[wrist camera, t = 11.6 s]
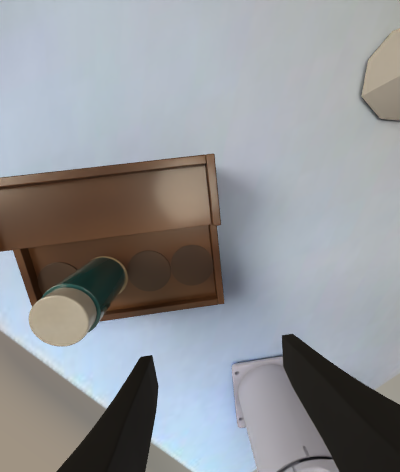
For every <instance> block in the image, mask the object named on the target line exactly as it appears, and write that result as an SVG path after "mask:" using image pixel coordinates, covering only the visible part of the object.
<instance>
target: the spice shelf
mask: <svg viewBox="0 0 400 472" xmlns="http://www.w3.org/2000/svg"><path fill="white" fill-rule="evenodd" d="M218 225H221V219H220V209H219V198H218V188H217V177H216V167H215V156H214V154H207V155H198V156H189V157H180V158H171V159H162V160H153V161H144V162H135V163H127V164H118V165H109V166H100V167H91V168H82V169H73V170H64V171H55V172H46V173H38V174H29V175H20V176H11V177H2V178H0V252H1V251H9V250H13V252H14V255H15V258H16V261H17V264H18V267H19V269H20V272H21V275H22V278H23V281H24V284H25V287H26V290H27V293H28V296H29V299H30V302H31V305H32V307H33V305H34V304H35V303H36V302H37V301H38V300H40V299H41V298H42V296H43V295H44V293H45V292H46V291H47V290H48V289H50V288H51V287H53V286H54V285H56V284H57V283H59V282H60V281H62V280H63V279H65V278H66V277H68V276H69V275H70V274H72V273H73V272H75V271H76V270H78V269H79V268H81V267H82V266H84V265H85V264H87V263H88V262H90V261H91V260H93V259H95V258H99V257H106V258H110V259H113V260H115V261H116V262H118V263H119V264H120V265H121V266H122V268H123V269H124V272H125V276H126V281H125V284H124V287H123V288H122V290H121V291H120V292H119V294H118V295H117V297H116V298H115V300H114V301H113V302H112V304H111V305H110V307H109V308H108V310H107V311H106V312H105V314H104V315H103V317H102V318H101V320H100V321H106V320H113V319H120V318H127V317H134V316H141V315H148V314H155V313H162V312H169V311H176V310H183V309H190V308H197V307H204V306H211V305H218V304H224V294H223V284H222V274H221V264H220V254H219V244H218V234H217V226H218Z"/></svg>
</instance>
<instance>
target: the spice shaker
mask: <svg viewBox="0 0 400 472" xmlns="http://www.w3.org/2000/svg"><path fill="white" fill-rule="evenodd" d="M125 281H126V276H125V272H124V269H123V268H122V266H121V265H120V264H119V263H118V262H116V261H115V260H113V259H110V258H106V257H99V258H95V259H93V260H91V261H90V262H88V263H87V264H85V265H84V266H82V267H81V268H79V269H78V270H76V271H75V272H73V273H72V274H70V275H69V276H68V277H66V278H65V279H63V280H62V281H60V282H59V283H57V284H56V285H54V286H53V287H51V288H50V289H48V290H47V291H46V292H45V293H44V295H43V296H42V298H41V299H40V300H38V301H37V302H36V303H35V304H34V305H33V307H32V309H31V311H30V314H29V324H30V327H31V329H32V331H33V333H34V334H35V335H36V336H37V337H38V338H39V339H40V340H42V341H43V342H45V343H47V344H50V345H54V346H69V345H73V344H75V343H77V342H79V341H80V340H81V339H83V338H84V337H85V335H86V334H87V333H88V332H90V331H91V330H93V329H94V328H95V327H96V325H97V324H98V323H99V321H100V320H101V318H102V317H103V315H104V314H105V312H106V311H107V310H108V308H109V307H110V305H111V304H112V302H113V301H114V300H115V298H116V297H117V295H118V294H119V292H120V291H121V290H122V288H123V287H124V284H125Z"/></svg>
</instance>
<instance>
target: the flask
mask: <svg viewBox="0 0 400 472" xmlns="http://www.w3.org/2000/svg"><path fill="white" fill-rule="evenodd" d="M362 98H363V99H364V100H365V101H366V102H367V104H368V105H369V106H370V107H371V108H372V109H373V111H374V112H375V113H376V114H377V115H378V117H379V118H380V119H389V120H400V28H399V29H397V30H394V31H392V33H391V34H390V35H389V36H388V37H387V38H386V40H385V41H384V42H383V43H382V44H381V46H380V47H379V48H378V49H377V50H376V51H375V53H374V54H373V55H372V56H371V57H370V59H369V60H368V64H367V70H366V75H365V80H364V86H363V91H362Z"/></svg>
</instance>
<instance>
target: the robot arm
mask: <svg viewBox="0 0 400 472" xmlns="http://www.w3.org/2000/svg"><path fill="white" fill-rule="evenodd" d="M282 349H283V356H281V357H274V358H268V359H261V360H255V361H249V362H242V363H236V364H233V365H232V377H233V387H234V397H235V407H236V417H237V425H238V427H239V428H245V427H246V428H247V432H248V436H249V440H250V444H251V448H252V452H253V456H254V460H255V463H256V467H257V471H258V472H400V405H399V404H397V403H396V402H394V401H392V400H390V399H388V398H386V397H385V396H383V395H381V394H379V393H378V392H376V391H375V390H373V389H371V388H369V387H368V386H366V385H365V384H363V383H361V382H360V381H358V380H357V379H355V378H353V377H352V376H350V375H349V374H347V373H346V372H344V371H343V370H341V369H340V368H338V367H337V366H336V365H334V364H333V363H331V362H330V361H328V360H327V359H326V358H324V357H323V356H322V355H320V354H319V353H318V352H316V351H315V350H313V349H312V348H311V347H310V346H308V345H307V344H306V343H304V342H303V341H302V340H300V339H299V338H298V337H296V336H295V335H294V334H289V335H282ZM236 371H237V372H236ZM157 396H158V382H157V377H156V372H155V367H154V362H153V357H152V355H150V356H144V357H140V359H139V360H138V362H137V363H136V365H135V367H134V368H133V370H132V372H131V373H130V375H129V377H128V378H127V380H126V381H125V383H124V384H123V386H122V387H121V389H120V390H119V392H118V394H117V395H116V397H115V398H114V400H113V401H112V402H111V404H110V405H109V407H108V408H107V409H106V411H105V412H104V414H103V415H102V417H101V418H100V419H99V421H98V422H97V423H96V425H95V426H94V428H92V430H91V431H90V432H89V434H88V435H87V436H86V437H85V439H84V440H83V441H82V442H81V444H80V445H79V446H78V447H77V448H76V450H75V451H74V452H73V453H72V454H71V455H70V457H69V458H68V459H67V460H66V461H65V462H64V464H63V465H62V466H61V467H60V468H59V469H58V471H57V472H145V469H146V464H147V459H148V453H149V447H150V442H151V437H152V431H153V426H154V420H155V414H156V408H157Z"/></svg>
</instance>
